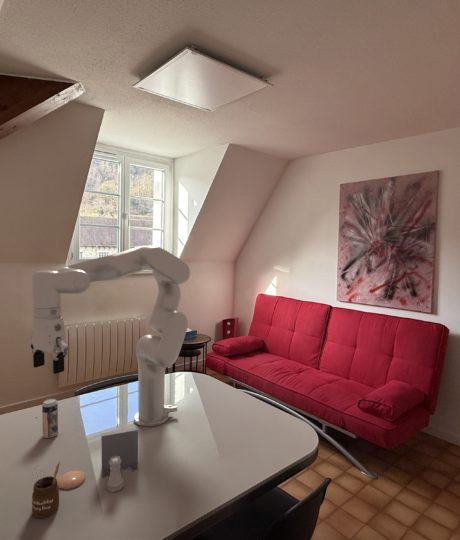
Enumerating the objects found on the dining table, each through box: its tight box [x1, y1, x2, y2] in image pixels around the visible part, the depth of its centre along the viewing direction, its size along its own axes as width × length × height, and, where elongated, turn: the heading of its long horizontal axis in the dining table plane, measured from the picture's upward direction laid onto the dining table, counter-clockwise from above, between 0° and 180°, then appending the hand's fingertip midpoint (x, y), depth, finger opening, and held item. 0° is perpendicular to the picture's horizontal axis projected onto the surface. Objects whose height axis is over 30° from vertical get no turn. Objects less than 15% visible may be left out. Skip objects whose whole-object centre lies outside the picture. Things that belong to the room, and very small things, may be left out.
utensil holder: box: [31, 461, 61, 519], centre depth 89 cm, size 6×6×12 cm
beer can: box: [41, 398, 59, 439], centre depth 123 cm, size 5×5×12 cm
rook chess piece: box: [106, 456, 125, 493], centre depth 98 cm, size 4×4×8 cm
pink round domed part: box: [57, 470, 86, 490], centre depth 100 cm, size 7×7×1 cm
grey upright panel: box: [100, 427, 139, 478], centre depth 106 cm, size 10×5×11 cm, turn 112°
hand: (48, 369), depth 109 cm, fingers open, 9 cm apart
